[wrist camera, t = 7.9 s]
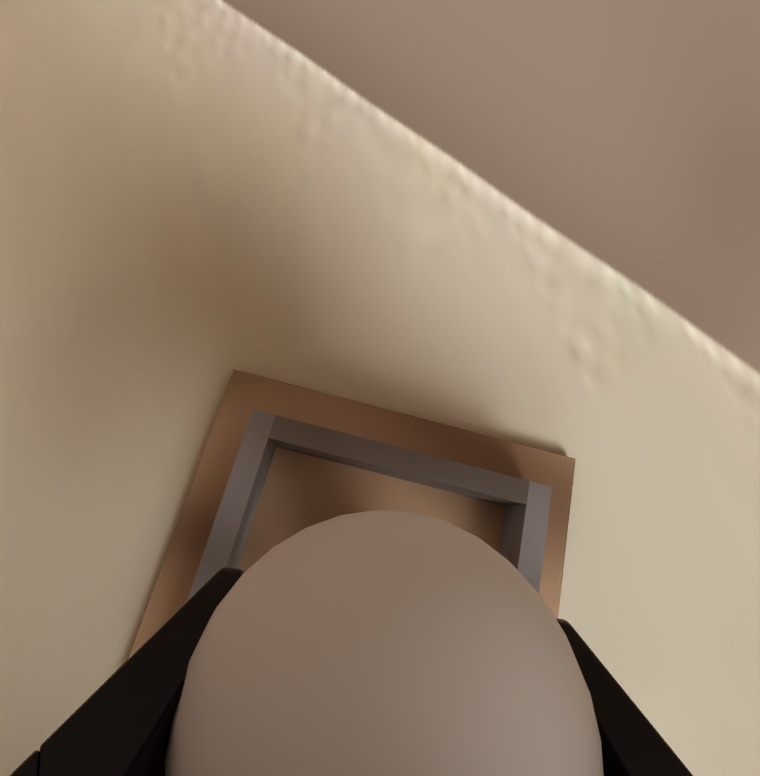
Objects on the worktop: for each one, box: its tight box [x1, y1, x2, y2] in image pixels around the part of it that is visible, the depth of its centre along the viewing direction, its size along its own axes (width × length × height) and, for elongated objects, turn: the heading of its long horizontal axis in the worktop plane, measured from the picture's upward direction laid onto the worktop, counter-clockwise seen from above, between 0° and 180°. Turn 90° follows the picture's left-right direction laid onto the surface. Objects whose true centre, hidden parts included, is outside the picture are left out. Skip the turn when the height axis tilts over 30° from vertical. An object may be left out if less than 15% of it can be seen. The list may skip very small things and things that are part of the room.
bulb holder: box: [128, 370, 575, 659], centre depth 15 cm, size 14×14×2 cm
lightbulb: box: [165, 510, 604, 776], centre depth 9 cm, size 6×6×11 cm
